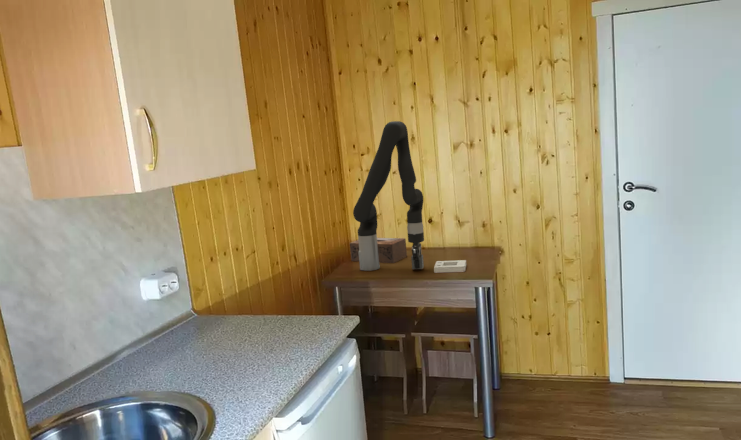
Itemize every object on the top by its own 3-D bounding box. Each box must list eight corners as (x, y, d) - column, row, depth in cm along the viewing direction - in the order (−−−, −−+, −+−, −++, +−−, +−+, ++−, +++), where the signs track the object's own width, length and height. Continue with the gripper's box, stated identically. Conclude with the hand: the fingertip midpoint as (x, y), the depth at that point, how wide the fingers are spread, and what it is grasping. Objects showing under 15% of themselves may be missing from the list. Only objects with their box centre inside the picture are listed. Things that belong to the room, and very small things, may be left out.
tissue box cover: (407, 256, 307) (405, 238, 306) (393, 263, 295) (392, 244, 294) (365, 255, 321) (363, 237, 319) (351, 261, 309) (349, 243, 307)
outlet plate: (434, 272, 269) (433, 267, 268) (437, 266, 280) (436, 261, 280) (464, 271, 266) (464, 266, 265) (466, 265, 277) (466, 259, 277)
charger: (412, 269, 275) (411, 256, 274) (413, 267, 279) (412, 254, 278) (422, 268, 274) (421, 256, 273) (423, 266, 278) (422, 254, 277)
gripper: (409, 229, 281) (412, 263, 284) (405, 234, 268) (407, 271, 270) (425, 228, 279) (427, 263, 282) (421, 234, 266) (423, 270, 269)
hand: (417, 266), depth 276 cm, fingers closed on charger, 4 cm apart
